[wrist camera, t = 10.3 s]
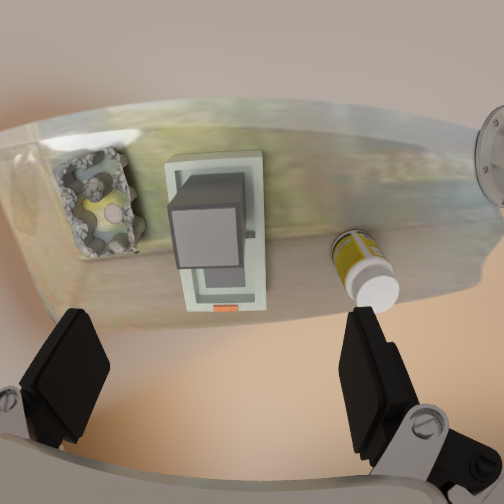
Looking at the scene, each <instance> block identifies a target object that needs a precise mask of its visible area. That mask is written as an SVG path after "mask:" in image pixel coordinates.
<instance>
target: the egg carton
mask: <svg viewBox="0 0 504 504" xmlns="http://www.w3.org/2000/svg"><path fill="white" fill-rule="evenodd" d="M104 152H105V154H106V157H108V158H110V159H117V160H118V163H119V169H117V171H116V173H115V174H114V178H113V180H112V178H111V176H110V175H109V174H107V173H99V174H97V175H95V176H94V177H92V178H90V179H89V180H88V181H87V182H86V183H85V185H84V184H83V183H82V182H80V181H75V180H74V178H73V174H72V172H73V171H74V170H75V169H76V168H82V169H83V170H87V169H89V168H90V167H92V166H93V165H95V164H97V163H99V162H100V161H101V160H102V159H103V157H104ZM126 165H128V160H127V157H126V155H123V154H119V153H117V152H116V151H115V149H114V148H113V147H112V146H111V147H108V148H104V149H100V150H98V151H96V152H94V153H92V154H87V155H84V156H82V157H79V158H76V159H74V160H72V161H67V162H65V163H63V164H61V165H59V166H57V167H56V168H54V169H53V174H54V176H55V178H56V181H57V184H58V186H59V187H60V190H61V197H63V208H64V210H65V212H66V214H67V218H68V221H69V224H70V226H71V229H72V233H73V237H74V241H75V244H76V246H77V248H78V250H79V251H81V252H82V253H83V254H85V255H86V256H88V257H90V258H92V257H100V256H105V255H108V256H110V255H113V254H115V253H120V252H124V253H123V254H129V253H134V254H137V253H139V251H137V243H138V242H139V240H140V239H141V233H142V232H143V231H144V230H145V228H146V222H145V220H144V218H141V217H138V216H136V215H135V214H134V213H133V211H132V209H131V203H132V201H133V200H134V199H135V198H136V197H137V194H136V192H135V190H134V187H132V186H128V184H127V181H126V178H125V175H124V171H123V168H124V167H125V166H126ZM112 188H114V189H118V190H120V191H121V192H122V193H127V196H128V199H127V201H126V203H125V204H124V205H123V207H122V209H121V208H120V207H119V206H118V205H116V204H113V203H112V204H108V205H107V206H106V207H105V209H104V217H105V219H106V220H107V221H108V222H110V223H112V224H117V223H119V222H120V221H121V220H122V218H123V220H122V223H124V224H125V226H126V227H127V234H125V233H119V234H117V235H116V236H115V237H114V238H113V239H112V240H111V241H110V243H109V244H108V245H106V244H105V242H104V241H103V240H101V239H98V238H94V236H93V233H92V230H94V229H95V227H96V225H97V219H96V216H95V215H94V214H93V213H92V212H90V211H87V210H84V208H83V205H82V201H83V200H84V199H85V198H86V199H88V200H89V201H91V202H99V201H100V200H101V199H102V198H104V197H105V196H106V195H107V194H108V193H110V192H111V191H112Z"/></svg>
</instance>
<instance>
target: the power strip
mask: <svg viewBox="0 0 504 504" xmlns="http://www.w3.org/2000/svg"><path fill="white" fill-rule="evenodd" d="M164 166H165V174H166V182H167V190H168V198H169V203H170V202H171V200H172V199H173V198H174V196H175V195H176V194H177V192H178V191H179V190H180V188H181V187H182V186H183V184H184V183H185V182H186V180H187V179H188V178H189V177H190V175H202V174H218V173H237V172H244V186H245V206H246V236H245V254H244V268H210V269H180V275H181V281H182V286H183V292H184V297H185V302H186V307H187V311H214V312H216V311H252V310H266V269H265V227H264V191H263V158H262V150H247V151H227V152H211V153H197V154H185V155H174V156H173V157H172V158H170V159H169V160H168V161H166V162H165V163H164Z"/></svg>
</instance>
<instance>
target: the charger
mask: <svg viewBox="0 0 504 504" xmlns="http://www.w3.org/2000/svg"><path fill="white" fill-rule="evenodd" d="M167 209H168V216H169V222H170V229H171V235H172V241H173V248H174V254H175V259H176V265H177V269H210V268H244V254H245V236H246V206H245V186H244V172H237V173H218V174H202V175H190V177H189V178H188V179H187V180H186V182H185V183H184V184H183V186H182V187H181V188H180V190H179V191H178V192H177V194H176V195H175V196H174V198H173V199H172V200H171V202H170V203H169V204H168V206H167Z"/></svg>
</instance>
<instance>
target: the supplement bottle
mask: <svg viewBox="0 0 504 504" xmlns="http://www.w3.org/2000/svg"><path fill="white" fill-rule="evenodd" d="M331 255H332V260H333V263H334V265H335V267H336V269H337V272H338V274H339V276H340V278H341V280H342V283H343V285H344V287H345V290H346V292H347V294H348V295H349V296H350V297H351V298H352V299H353V300H355V302H356V304H357V306H358V307H365V306H371V307H372V309H373V311H374V313H375V314H378V313H381V312H384V311H386V310H387V309H389V308H390V307H391V306H392V305H393V304H394V303H395V301H396V300H397V298H398V295H399V284H398V282H397V280H396V279H395V277H394V271H393V268H392V266H391V264H390V262H389V261H388V260H387V258H386V257H385V256H384V254H383V253H382V252H381V250H380V249H379V247H378V246H377V245H376V243H375V242H374V241H373V239H372V238H371V237H370V236H369V235H368V234H367V233H365V232H363V231H360V230H352V231H348V232H346V233H343V234H342V235H340V236H339V237H338V238H337V239H336V241H335V242H334V244H333V246H332V251H331Z"/></svg>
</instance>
